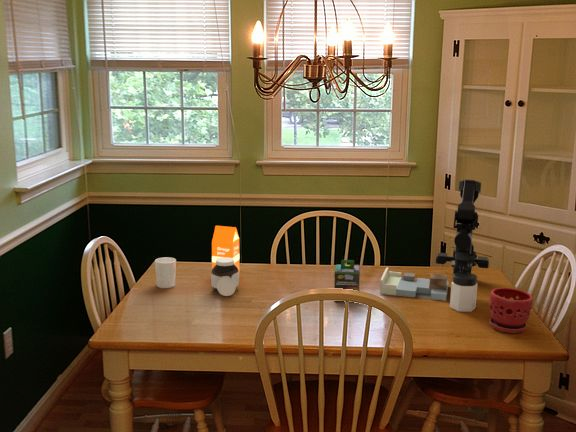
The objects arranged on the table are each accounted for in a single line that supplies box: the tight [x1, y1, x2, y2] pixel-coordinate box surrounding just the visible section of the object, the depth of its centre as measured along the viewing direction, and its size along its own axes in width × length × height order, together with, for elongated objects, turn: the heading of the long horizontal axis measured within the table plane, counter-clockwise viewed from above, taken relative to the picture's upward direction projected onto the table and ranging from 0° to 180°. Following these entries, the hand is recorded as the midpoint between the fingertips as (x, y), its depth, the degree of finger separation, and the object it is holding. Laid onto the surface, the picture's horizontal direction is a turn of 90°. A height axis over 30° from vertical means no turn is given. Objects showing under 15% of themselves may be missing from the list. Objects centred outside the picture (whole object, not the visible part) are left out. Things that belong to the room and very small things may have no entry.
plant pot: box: [489, 287, 534, 334], centre depth 220 cm, size 13×13×12 cm
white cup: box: [154, 256, 177, 289], centre depth 255 cm, size 8×8×10 cm
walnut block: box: [429, 272, 448, 290], centre depth 252 cm, size 6×6×4 cm
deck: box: [379, 266, 449, 302], centre depth 255 cm, size 24×16×6 cm, turn 74°
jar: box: [449, 272, 478, 313], centre depth 237 cm, size 9×8×12 cm
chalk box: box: [333, 259, 361, 303], centre depth 245 cm, size 9×9×15 cm
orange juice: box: [211, 225, 241, 271], centre depth 268 cm, size 8×9×20 cm
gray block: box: [402, 272, 416, 282], centre depth 261 cm, size 4×4×4 cm
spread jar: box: [210, 257, 240, 297], centre depth 250 cm, size 12×11×12 cm
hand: (460, 282), depth 250 cm, fingers closed
